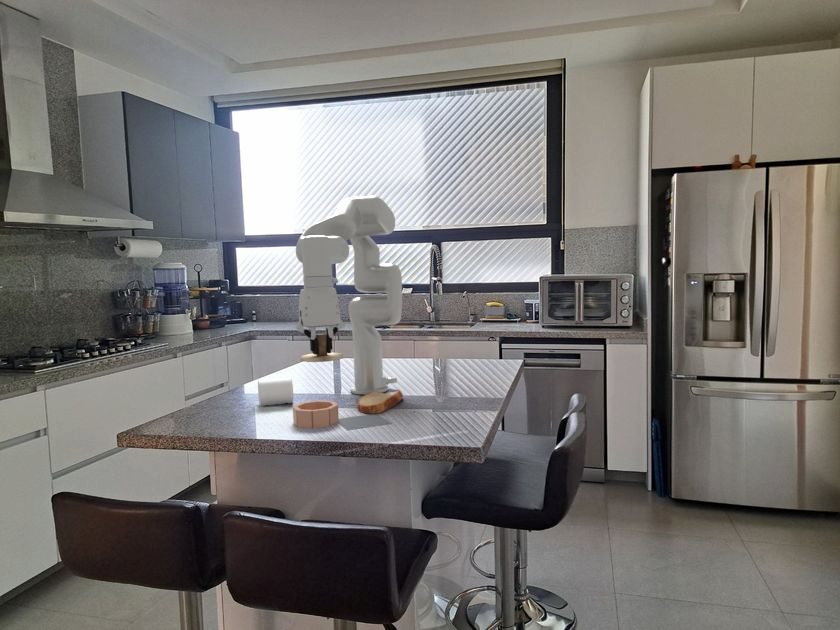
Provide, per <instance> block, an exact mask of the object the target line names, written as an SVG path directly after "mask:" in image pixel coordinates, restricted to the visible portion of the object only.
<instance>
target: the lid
mask: <svg viewBox="0 0 840 630" xmlns="http://www.w3.org/2000/svg"><path fill="white" fill-rule="evenodd" d="M315 337H316V339H317V340H318V354H317V355H315V354H313V353H308V354H303V355H301V356H300V361H301V362H305V363H306V362H307V363H322V362H323V363H325V362H335V361H339V360H341V359H343V358H344V353H341V352H333V351H331V353H327V337H326V333H318V334H317V333H316V335H315Z"/></svg>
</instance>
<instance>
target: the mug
mask: <svg viewBox="0 0 840 630" xmlns="http://www.w3.org/2000/svg"><path fill="white" fill-rule="evenodd" d="M293 385H294V384H293V379H292V377H291V376H290V377H281V378H269V379H259V380H257V391H258V392H257V393H258V394H257V395H258V404H259V407H266V406H265V405H269V406H276V405H275V404H278V405H286V404H285V403H288V404H293V403H294V386H293Z"/></svg>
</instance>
